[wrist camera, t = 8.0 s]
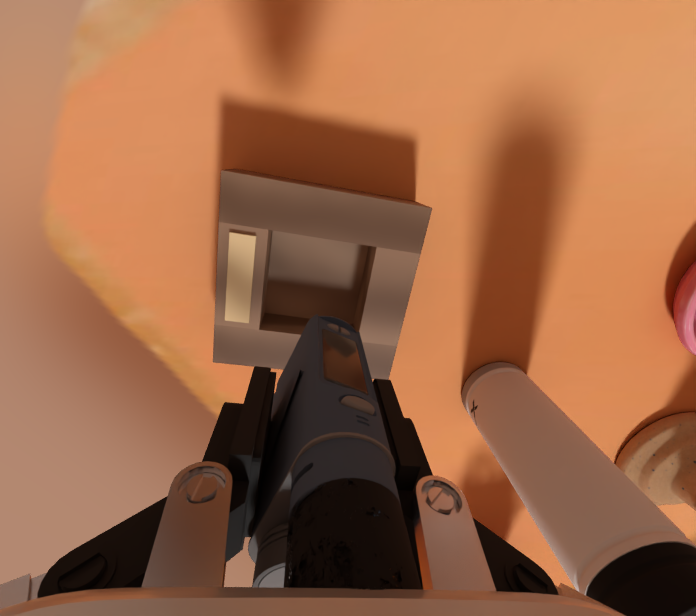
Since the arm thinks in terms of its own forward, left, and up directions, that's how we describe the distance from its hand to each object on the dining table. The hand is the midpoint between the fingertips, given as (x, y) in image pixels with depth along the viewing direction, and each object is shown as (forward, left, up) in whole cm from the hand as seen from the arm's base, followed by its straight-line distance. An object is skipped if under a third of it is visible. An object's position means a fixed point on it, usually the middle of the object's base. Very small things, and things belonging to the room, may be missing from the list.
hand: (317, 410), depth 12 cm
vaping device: (0, 0, -3) cm, 3 cm away
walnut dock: (0, 0, -17) cm, 17 cm away
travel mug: (+9, +18, -17) cm, 26 cm away
